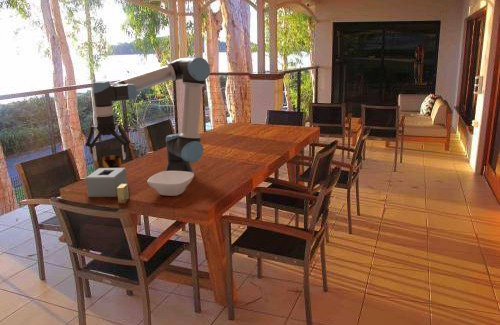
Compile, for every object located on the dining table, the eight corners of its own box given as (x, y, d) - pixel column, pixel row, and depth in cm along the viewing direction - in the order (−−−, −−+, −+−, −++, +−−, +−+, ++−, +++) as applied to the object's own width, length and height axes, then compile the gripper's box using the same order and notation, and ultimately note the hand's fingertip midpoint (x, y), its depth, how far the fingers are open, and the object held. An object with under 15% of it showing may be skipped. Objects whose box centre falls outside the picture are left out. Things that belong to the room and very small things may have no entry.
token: (129, 198, 211) (127, 183, 209) (124, 203, 205) (123, 187, 203) (123, 198, 211) (121, 183, 209) (118, 203, 206) (116, 187, 204)
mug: (117, 183, 236) (114, 161, 233) (101, 179, 243) (98, 158, 240) (131, 178, 243) (129, 157, 240) (115, 175, 251) (112, 154, 248)
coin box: (127, 186, 230) (125, 167, 227) (116, 196, 215) (113, 177, 212) (101, 186, 231) (99, 168, 229) (88, 196, 216) (85, 177, 213)
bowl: (163, 185, 229) (162, 169, 227) (200, 188, 223) (199, 171, 221) (143, 199, 210) (141, 182, 208) (182, 202, 204) (181, 184, 202)
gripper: (133, 112, 208) (137, 156, 214) (79, 115, 207) (85, 158, 212) (130, 115, 201) (135, 160, 206) (74, 117, 199) (80, 162, 205)
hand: (110, 159), depth 209 cm, fingers open, 13 cm apart
